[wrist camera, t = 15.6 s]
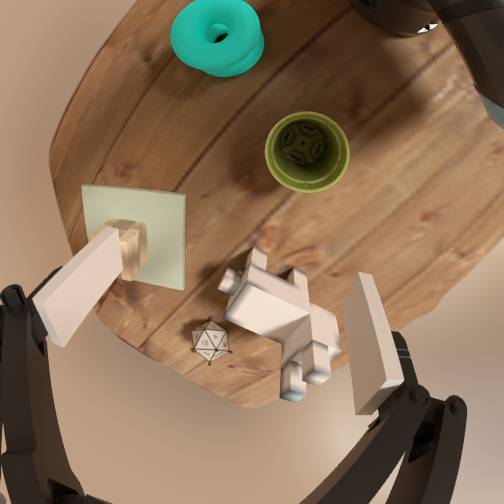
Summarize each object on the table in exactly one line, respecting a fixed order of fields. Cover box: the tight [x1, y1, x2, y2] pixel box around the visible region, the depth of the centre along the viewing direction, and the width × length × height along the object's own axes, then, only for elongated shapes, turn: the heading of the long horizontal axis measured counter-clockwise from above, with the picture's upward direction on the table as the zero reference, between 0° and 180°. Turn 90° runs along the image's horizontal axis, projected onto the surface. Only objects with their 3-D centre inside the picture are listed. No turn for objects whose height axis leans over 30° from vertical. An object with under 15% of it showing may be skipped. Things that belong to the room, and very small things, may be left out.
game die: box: [188, 317, 233, 366], centre depth 51 cm, size 9×8×10 cm
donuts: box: [170, 0, 264, 77], centre depth 25 cm, size 10×10×10 cm
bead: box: [90, 218, 149, 281], centre depth 42 cm, size 7×7×7 cm
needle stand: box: [81, 184, 186, 290], centre depth 41 cm, size 18×20×12 cm
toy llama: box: [218, 247, 342, 402], centre depth 39 cm, size 8×18×20 cm, turn 62°
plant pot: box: [265, 111, 350, 193], centre depth 32 cm, size 9×9×9 cm
